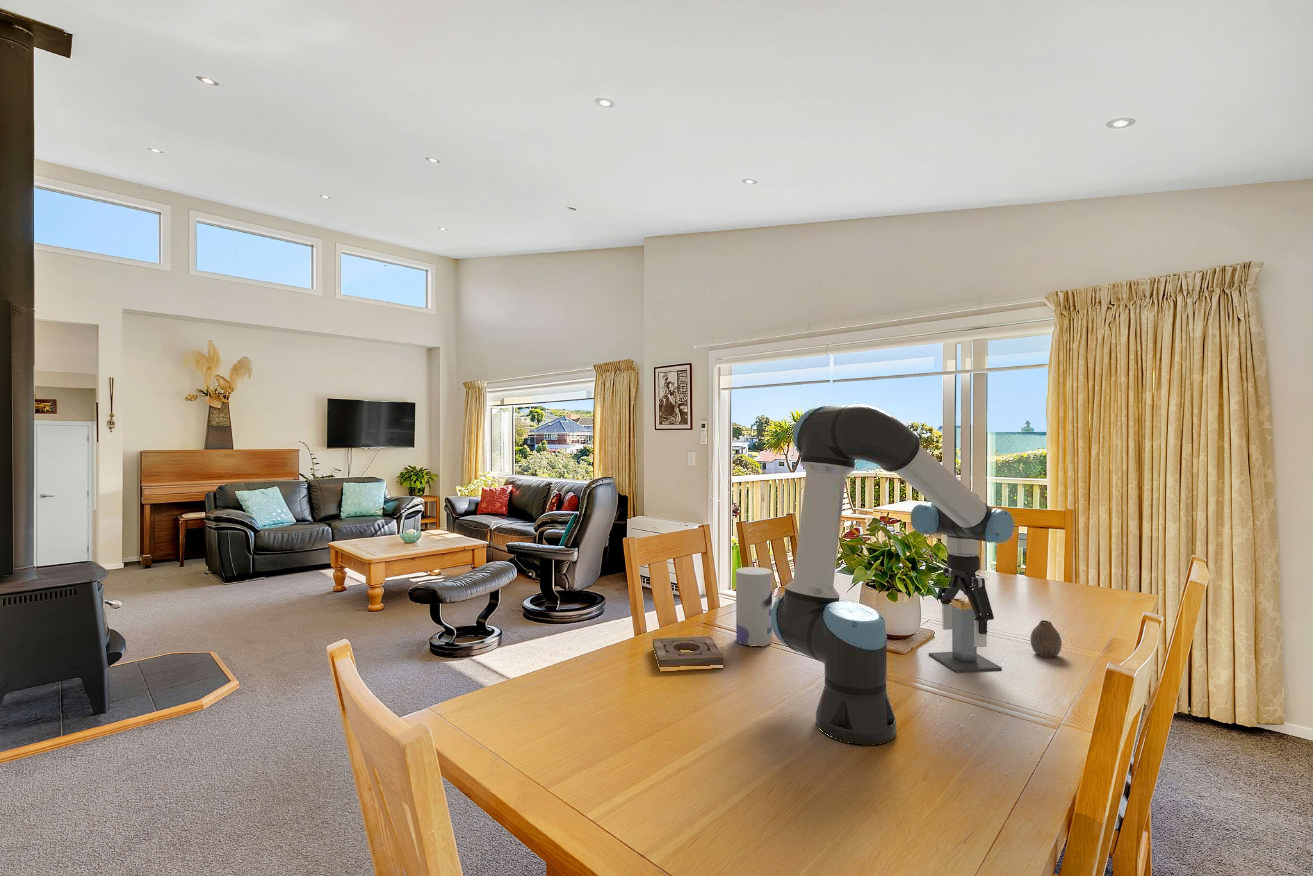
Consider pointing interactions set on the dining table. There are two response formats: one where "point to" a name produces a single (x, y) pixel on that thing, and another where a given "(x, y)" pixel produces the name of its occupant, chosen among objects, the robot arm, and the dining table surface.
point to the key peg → (963, 631)
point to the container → (753, 606)
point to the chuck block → (701, 655)
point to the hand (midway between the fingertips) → (963, 637)
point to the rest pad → (957, 666)
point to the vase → (1046, 640)
